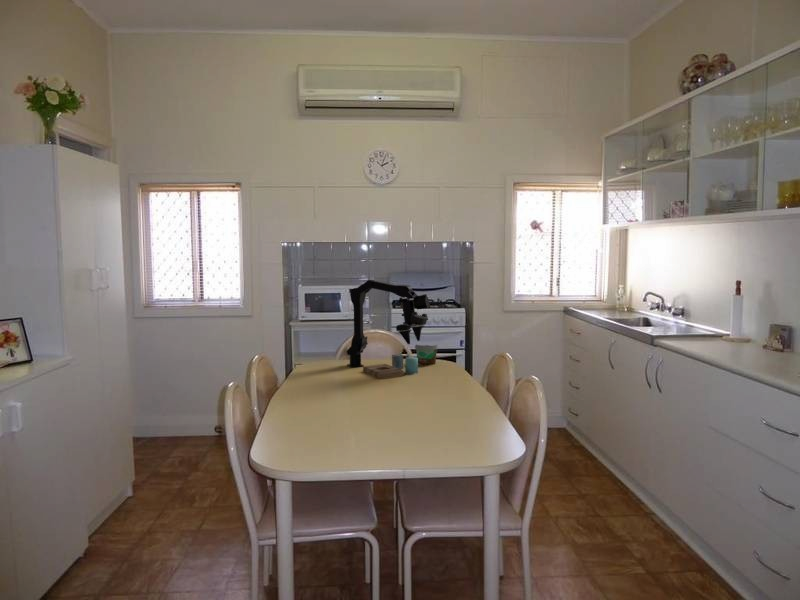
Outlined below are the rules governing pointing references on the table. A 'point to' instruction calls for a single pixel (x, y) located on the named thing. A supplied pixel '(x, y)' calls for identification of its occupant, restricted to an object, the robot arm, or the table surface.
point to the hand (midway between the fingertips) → (413, 342)
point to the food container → (426, 354)
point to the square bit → (397, 361)
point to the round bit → (411, 365)
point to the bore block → (383, 371)
